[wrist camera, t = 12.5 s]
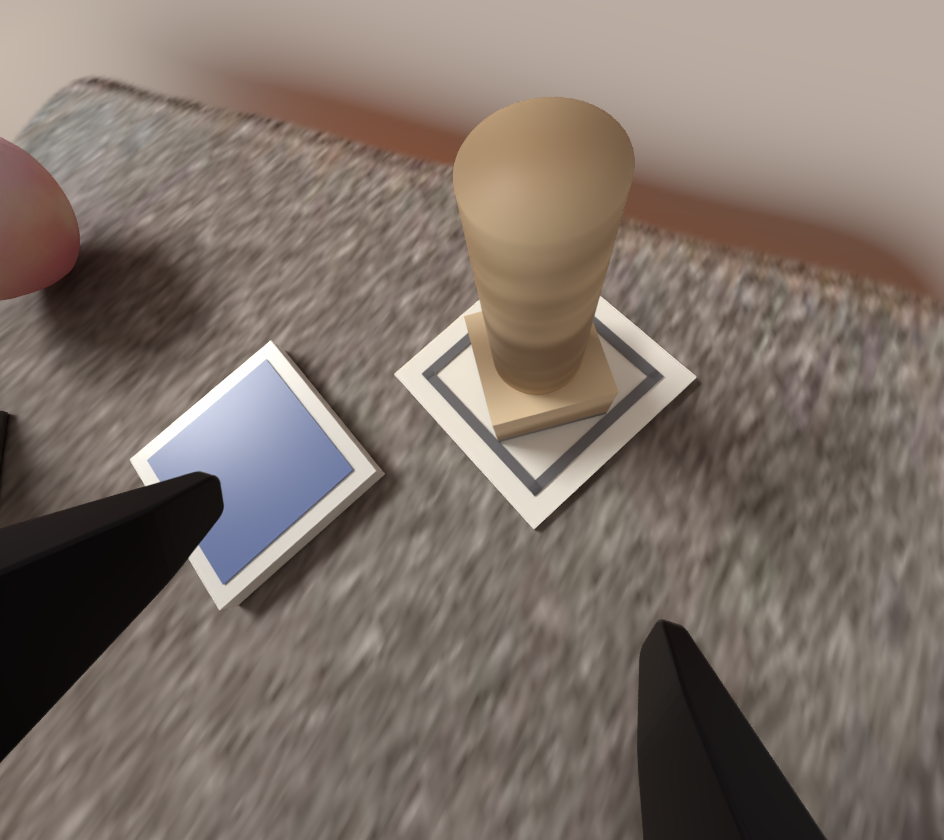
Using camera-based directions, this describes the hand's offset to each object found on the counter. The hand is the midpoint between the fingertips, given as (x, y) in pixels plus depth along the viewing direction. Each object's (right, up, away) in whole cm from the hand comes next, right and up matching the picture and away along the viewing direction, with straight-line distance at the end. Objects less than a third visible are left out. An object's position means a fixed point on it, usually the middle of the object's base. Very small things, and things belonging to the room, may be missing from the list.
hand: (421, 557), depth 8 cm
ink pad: (-9, 0, +13) cm, 16 cm away
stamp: (+4, +5, +12) cm, 13 cm away
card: (+4, +5, +12) cm, 14 cm away
